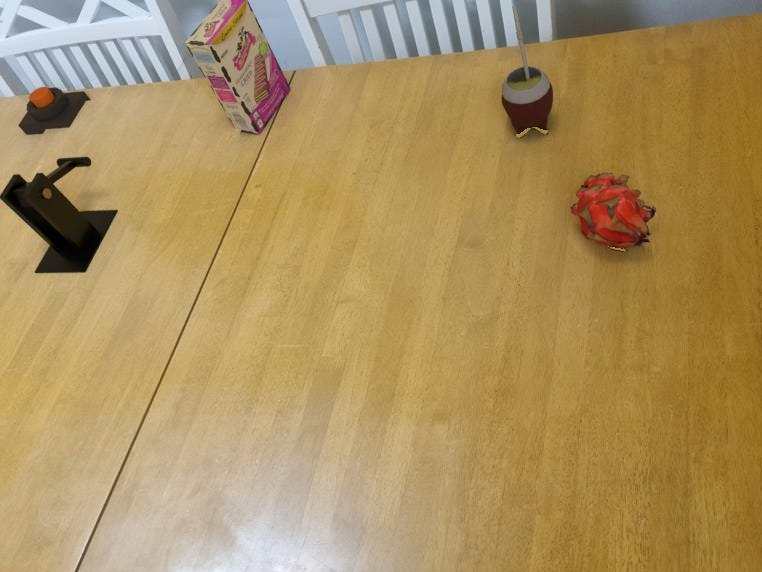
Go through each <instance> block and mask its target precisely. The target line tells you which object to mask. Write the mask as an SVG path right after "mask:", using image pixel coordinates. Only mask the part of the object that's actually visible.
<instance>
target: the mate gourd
mask: <svg viewBox="0 0 762 572" xmlns="http://www.w3.org/2000/svg"><path fill="white" fill-rule="evenodd" d="M511 8H512V13H513V14H512V15H513V19H514V23H515V28H516V32H515V34H516V40H518V45H519V50H520V55H521V61H522V65H523V66H519V67H518V68H516V69H513V70H512V71H511V72H509V73H508V74H507V76H506V77H505V78H504V81H503V82H502V85H501V103H502V108H503V110H504V111H505V112H506V115H507V116H508V119H509V120H510V122H511V125H512V127H513V128H514V130H515V132H516V133H517V134H520V133H521V132H523V131H524V130H525V129H527V128H532V127H538V128H540V129H543V130H547V129H548V120H549V119H548V117H549V116H550V113H551V111H552V108H553V103H554V89H553V85H552V82H551V81H550V78H549V77H548V75H547V74H546V73H545V72H544V71H543V70H542V69H540V68H538V67H536V66H529V65H528V60H527V54H526V50H525V44H524V34H523V30H522V28H521V23H520V18H519V13H518V7H517V5H512V6H511Z"/></svg>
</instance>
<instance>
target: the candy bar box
mask: <svg viewBox="0 0 762 572" xmlns="http://www.w3.org/2000/svg"><path fill="white" fill-rule="evenodd" d="M184 45H185V46H186V48H187V50H188V51H189V53H190V55H191V56H192V58H193V60H194V61H195V63H196V65H197V67H198V68H199V70H200V72H201V74H202V76H203V78H205V80H206V82H207V83H208V85H209V87H210V89H211V90H212V92H213V94H214V95H215V97H216V99H217V101H218V102H219V104H220V106H221V107H222V109H223V111H224V112H225V114H226V116H227V117H228V119H229V121H230V123H231V124H232V126H233V128H234V129H240V133H245V134H246V133H247V134H254V135H261V133H262V131H263V130H264V129H265V127H266V125H267V124H268V123H269V121H270V120H271V118H272V117H273V115H274V114H275V112H276V111H277V109H279V107H280V105H281V103H282V102H283V101H284V99H285V98H286V96H287V95H288V94H289V92H290V91H289V89H290V90H291V87H290V84H289V83H288V81H287V78H286V77H285V74H284V72H283V70H282V69H281V66H280V64H279V62H278V59H277V58H276V56H275V53H274V51H273V50H272V48H271V46H270V43H269V42H268V39H267V37H266V35H265V33H264V31H263V29H262V27H261V25H260V22H259V21H258V19H257V17H256V14H255V12H254V10H253V8H252V6H251V4H250V2H249V0H219V1H218V2H217V3H216V5H215V6H214V7H213V8H212V9H211V11H210V12H209V13H207V15H206V17H204V19H203V20H202V21H201V22H200V23H199V25H198V26H197V27H196V29H194V31H193V32H192V33H191V34H190V35H189V37H188V38H187V39H186V40H185V41H184ZM288 91H289V92H288ZM287 93H288V94H287ZM286 94H287V95H286ZM284 97H285V98H284Z"/></svg>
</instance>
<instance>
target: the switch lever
mask: <svg viewBox="0 0 762 572" xmlns="http://www.w3.org/2000/svg"><path fill="white" fill-rule="evenodd" d="M56 165H57V168H55V169H54V170H53V171H51V172H50V173H48V174H47V175H45V176H46V177H47V178H48V179H49V180H50V181H51V182H52V183H53V184H54V185H55V183H56V182H58V181H59V180H61V179H62V178H63V177H65V176H66V175H68V174H69V173H70V172H71V171H73V170H74V169H76V168H87V167H88V168H89V167H91V166H92V159H91V158H90V157H89V156H75V157H72V156H71V157H58V158H57V159H56ZM31 182H32V181H26V182H25V183H24V184H23V185H21V186H20V187H18V188H17V189H15V190H14V191H13V193H14V195H15V197H16V198H17V200H18V202H19V203H20V205H21V206H22V207H30V206H32V205H31V204H30V203H28V202H27V201H26V200H25V199H24V198H23V197H22V196H23V194H24V193H25V191H26V190H27V188H28V186H29V185H30V183H31Z"/></svg>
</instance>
